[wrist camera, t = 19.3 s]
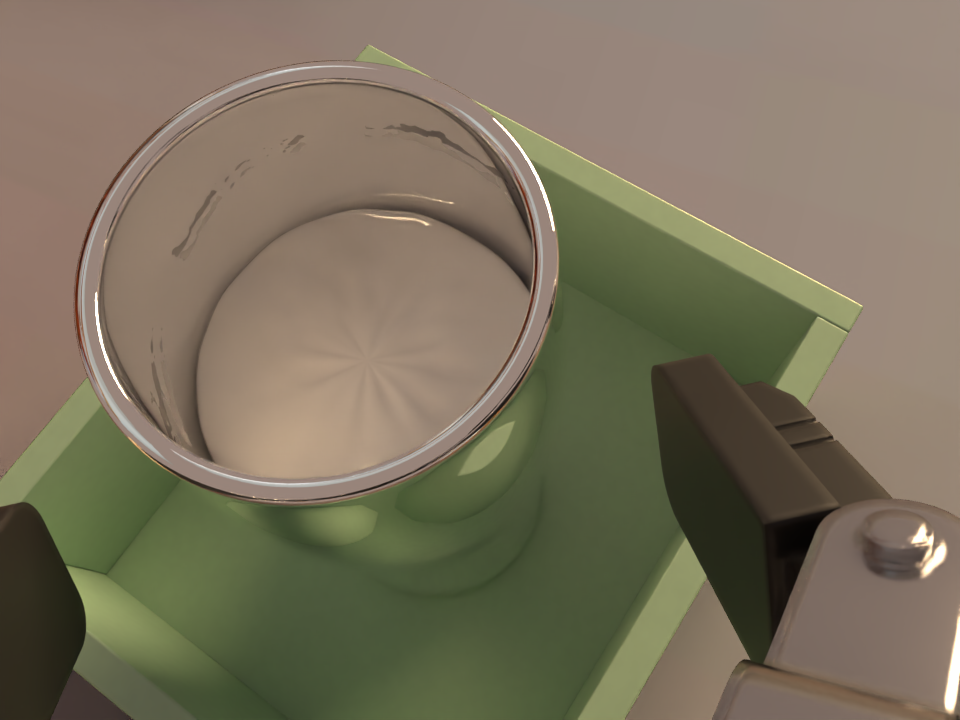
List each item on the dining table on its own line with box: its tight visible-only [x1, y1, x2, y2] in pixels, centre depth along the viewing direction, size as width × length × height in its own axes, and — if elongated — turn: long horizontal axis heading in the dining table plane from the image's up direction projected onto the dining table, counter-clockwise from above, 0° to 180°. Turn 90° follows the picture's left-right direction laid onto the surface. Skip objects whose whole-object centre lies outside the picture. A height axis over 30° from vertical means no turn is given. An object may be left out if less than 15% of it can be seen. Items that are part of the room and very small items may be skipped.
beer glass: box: [74, 61, 567, 596], centre depth 19 cm, size 7×7×15 cm
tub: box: [0, 45, 863, 720], centre depth 23 cm, size 17×15×7 cm
